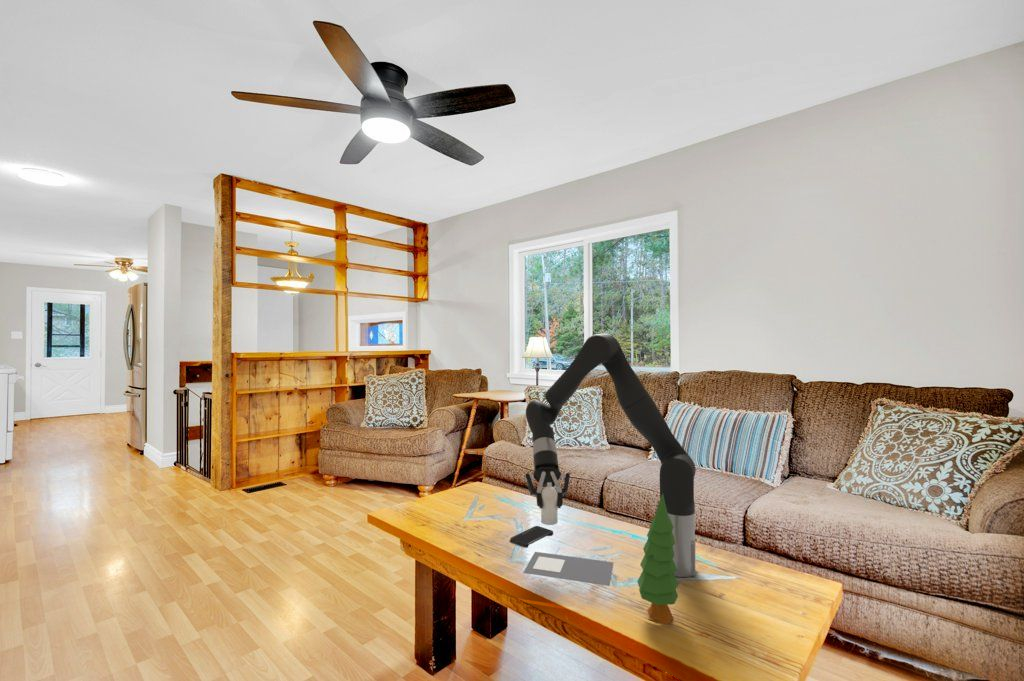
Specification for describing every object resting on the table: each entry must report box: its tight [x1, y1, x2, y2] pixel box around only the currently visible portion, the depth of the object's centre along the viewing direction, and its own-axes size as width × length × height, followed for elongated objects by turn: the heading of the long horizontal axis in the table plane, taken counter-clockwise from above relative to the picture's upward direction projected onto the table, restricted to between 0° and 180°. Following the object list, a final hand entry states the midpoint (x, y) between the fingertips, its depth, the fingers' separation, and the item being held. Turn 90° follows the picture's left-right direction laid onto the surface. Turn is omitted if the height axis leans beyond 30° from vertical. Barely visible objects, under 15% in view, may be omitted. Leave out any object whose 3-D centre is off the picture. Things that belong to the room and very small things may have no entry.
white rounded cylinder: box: [540, 482, 559, 526], centre depth 138 cm, size 5×5×12 cm
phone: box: [509, 525, 554, 548], centre depth 159 cm, size 8×1×15 cm
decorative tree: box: [637, 494, 680, 625], centre depth 114 cm, size 10×9×30 cm
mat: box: [522, 551, 614, 586], centre depth 137 cm, size 24×14×1 cm, turn 73°
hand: (550, 506), depth 137 cm, fingers closed on white rounded cylinder, 4 cm apart
